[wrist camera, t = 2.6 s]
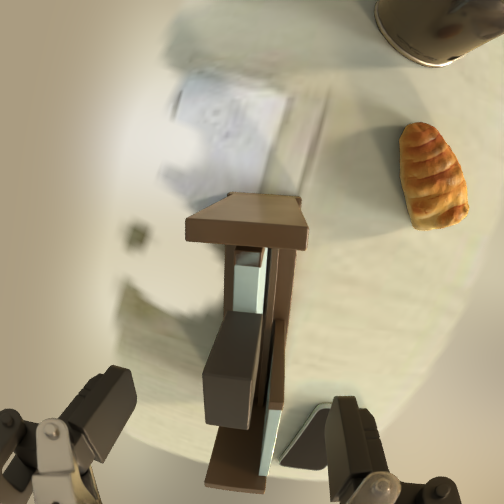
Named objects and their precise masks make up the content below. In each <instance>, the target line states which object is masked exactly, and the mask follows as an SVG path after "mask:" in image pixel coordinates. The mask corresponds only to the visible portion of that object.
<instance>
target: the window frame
mask: <svg viewBox="0 0 504 504" xmlns="http://www.w3.org/2000/svg"><path fill="white" fill-rule="evenodd" d="M301 201H302V199H301V197H297V196H286V195H273V194H258V193H242V192H230V193H228V194H227V197H226V198H224V199H222V200H220V201H218V202H216V203H214V204H212V205H210V206H209V207H207V208H205V209H203V210H201V211H199V212H197V213H195V214H193V215H191V216H189V217H188V218H186V220H185V240H186V241H189V242H202V243H214V244H225V270H224V316H225V314H226V311H228V310H230V311H233V290H234V265H233V260H234V249H235V248H236V246H237V245H239V246H252V247H264V248H268V254H267V267H266V280H265V293H264V305H263V322H262V330H261V342H260V353H259V363H258V370H257V377H256V384H255V391H254V398H253V405H252V411H251V418H250V424H249V429H248V430H245V429H237V428H229V427H222V426H219V428H218V432H217V436H216V440H215V444H214V447H213V451H212V455H211V459H210V463H209V466H208V470H207V474H206V478H205V481H204V482H205V486H206V487H210V488H216V489H222V490H229V491H237V492H245V493H256V494H264V493H265V488H266V478H267V476H268V474H269V469H270V465H271V460H272V456H273V451H274V447H275V442H276V437H277V432H278V427H279V422H280V417H281V412H282V410H283V406H284V382H285V346H286V339H287V331H288V324H289V316H290V308H291V300H292V292H293V283H294V274H295V265H296V256H297V250H301V251H305V250H307V245H308V235H309V227H308V225H307V223H306V220H305V218H304V216H303V214H302V212H301Z"/></svg>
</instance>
